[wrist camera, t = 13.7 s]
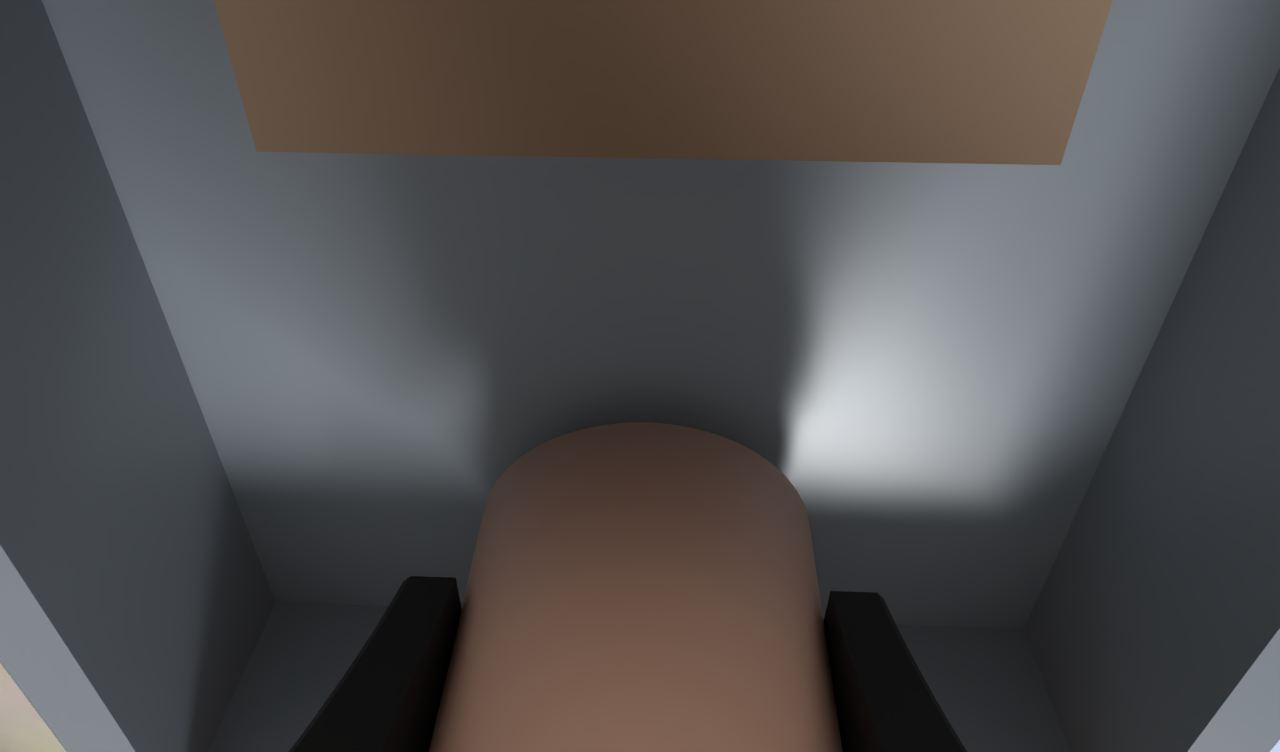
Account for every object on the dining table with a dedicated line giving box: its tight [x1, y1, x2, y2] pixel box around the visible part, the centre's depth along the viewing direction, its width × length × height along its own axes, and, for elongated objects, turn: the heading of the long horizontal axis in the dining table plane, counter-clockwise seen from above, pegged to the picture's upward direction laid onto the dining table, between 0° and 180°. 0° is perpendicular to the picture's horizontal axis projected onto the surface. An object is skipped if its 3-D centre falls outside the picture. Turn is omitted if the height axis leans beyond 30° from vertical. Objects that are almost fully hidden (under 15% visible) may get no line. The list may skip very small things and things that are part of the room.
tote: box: [0, 0, 1280, 752], centre depth 9 cm, size 16×20×5 cm
